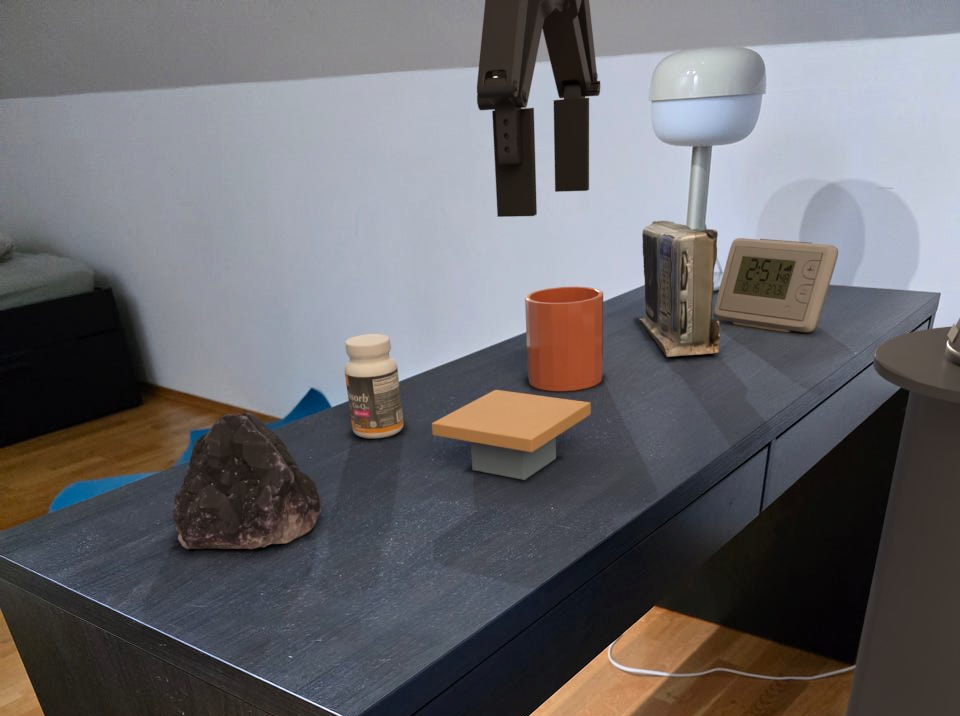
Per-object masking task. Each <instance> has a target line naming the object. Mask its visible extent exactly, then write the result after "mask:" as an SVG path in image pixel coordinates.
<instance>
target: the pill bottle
mask: <svg viewBox="0 0 960 716" xmlns="http://www.w3.org/2000/svg"><path fill="white" fill-rule="evenodd" d="M344 344H345V352H346V354H347V357H349V361H347V363H345V366H344V378H345V384H346V385H345V386H346V393H347V399H348V400H347V401H348V406H349V407H348V408H349V415H350V422H351V429H352V432H353V433H354V434H355V435H356V436H357V437H360V438H364V439H367V440H368V439H369V440H371V439H375V440H376V439H383V438H384V439H385V438H390V437H392V436H394V435H397V434H399V433H400V432H401V431H402V430H403V428H404V415H403V414H404V413H403V404H402V397H401V396H402V395H401V389H400V379H399V370H398V368H399V367H398V364H397V361H396V360H395V359H394V358H393V357H392V356H390V352H391V349H392V345H391V339H390V337H389V336H388V335H387V334H381V333H367V334H359V335H355V336H352V337H350V338H347V339H346V340H345V342H344Z"/></svg>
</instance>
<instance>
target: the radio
mask: <svg viewBox="0 0 960 716" xmlns="http://www.w3.org/2000/svg"><path fill="white" fill-rule="evenodd" d="M718 234H719V233H718V231H717V229H713V228H712V229H711V228H707V229H699V228H694V229H692V228H690V227H689V226H688V225H686V224H681V223H675V222H673V221H671V220H670V221H669V220H657V221H655V220H654V221H652V223H651V224H649V225H646V226H645V227H644V228H643V229H642V258H643V276H644V301H645V314H644V317H643V318H638V319H639V321H640V323H641V324H642V325H643V327H644V328H645V329H646V330H647V331H648V333H649V335H650V336H651V338H653V339H654V341H655V343H656V344H657V345H658V347H659V348H660V349H661V351H662V352H663V353H664V355H665V356H666V357H667V358H668V357H670V358H671V357H680V356H694V355H696V356H697V355H707V354H716V353H720V348H719V347H720V342H721V334H720V332H721V331H720V330H721V329H720V320H713V300H714V290H715V287H714V286H715V283H714V277H715V276H714V274H715V266H716V262H717V260H718V259H717V258H718V247H717V245H718V236H719V235H718Z"/></svg>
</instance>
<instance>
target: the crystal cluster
mask: <svg viewBox="0 0 960 716" xmlns="http://www.w3.org/2000/svg"><path fill="white" fill-rule="evenodd" d="M188 466H189V468H188V470H187V472H186V474H185V476H184V477H183V484H182V485H181V487H180V488H179V490H178V491H177V492H176V493H175V494H174V509H173V511H172V515H173V516H172V517H173V520H174V522H175V529H176V531H177V532H178V536H177V540H178V541H179V543H180V544H181V547H182V548H185V549H186V550H193V549H195V550H204V549H219V550H227V549H228V550H230V549H236V550H237V549H238V550H241V549H243V550H244V549H248V550H254V549H259V548H265V547H267V546H269V545H279V544H281V545H282V544H288V543H290V542H292V541H294V540H296V539H299V538H300V537H303V536H304V535H306V534H308V533H309V532H311V530H313V528H314V527H315V525H316V523H317V522H318V518H319V517H320V514H321V512H322V502H321V499H320V494H319V491H318V488H317V485H316V482H315V481H314V480H313V479H312V477H311V476H309V474H307V473H305V472H303V471H301V470H300V468H299V466H298V464H297V461H296V459H295V458H294V456H293V455H292V453H291V452H289V451H288V449H287V445H286V444H285V442H284V441H283V440H282V438H281V437H280V436H278V435H277V434H276V433H275V432H274V431H273V430H272V429H271V428H270V427H269V426H267V425H266V424H264V423H263V420H261V419H260V418H259V417H257V416H256V415H255V414H253V413H250V412H244V413H242V412H241V413H238V414H234V413H228V414H222V415H221V417H219V418H218V419H216V420H215V421H214V423H213V424H212V426H211V427H210V429H209V430H208V432H207V433H203V434H202V435H201V436H200V437H199V438H198V439H196V441H195V443H194V444H193V446H192V450H191V454H190V456H189V464H188Z"/></svg>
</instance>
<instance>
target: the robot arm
mask: <svg viewBox="0 0 960 716" xmlns="http://www.w3.org/2000/svg"><path fill="white" fill-rule="evenodd" d="M542 33H543V37H544V41H545V45H546V49H547V54H548V57H549V61H550V67H551V71H552V75H553V79H554V82H555V87H556V91H557V96H558V98H559V99H555V100H554V99H553V145H554V148H553V149H554V151H553V152H554V192H557V193H558V192H587V191H590V97H599V96H600V94H601V80H598V78H599V75H598V71H597V62H596V61H597V60H596V50H595V43H594V33H593V24H592V13H591V5H590V0H485V1H484V9H483V20H482V30H481V39H480V51H479V60H478V69H477V70H478V72H477V79H476V81H477V82H476V94H477V95H476V104H477V108H478V110H479V111H492V112H491V113H492V134H493V153H494V154H493V155H494V173H495V193H496V194H495V195H496V212H497V213H496V214H497V218H506V217H507V218H508V217H511V218H513V217H535V216H537V215H538V210H537V209H538V207H537V205H538V204H537V174H536V173H537V172H536V171H537V170H536V169H537V168H536V140H535V139H536V135H535V107H527V106H528V103H529V98H530V93H531V88H532V84H533V83H532V82H533V77H534V72H535V67H536V62H537V57H538V53H539V48H540V43H541V37H542ZM950 327H951V326H950ZM948 337H949V340H948V342H947V346H946V351H945V357H946V358H947V359H948V360H949V361H950V362H952V363H954V364H956V365H958V366H960V317H959V319H958V320H957V321H956V323H953V324H952V327H951V329H950V331H949V333H948Z"/></svg>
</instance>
